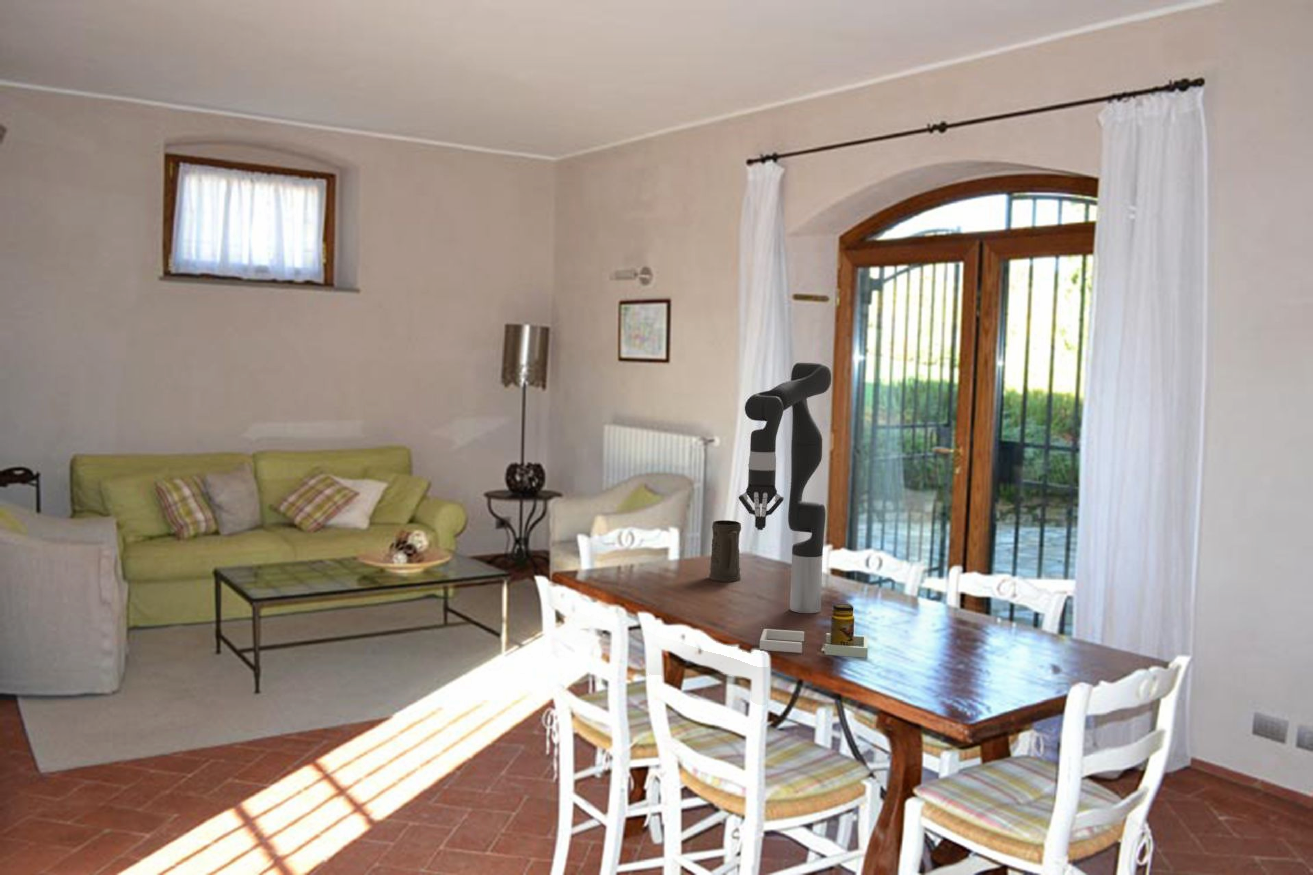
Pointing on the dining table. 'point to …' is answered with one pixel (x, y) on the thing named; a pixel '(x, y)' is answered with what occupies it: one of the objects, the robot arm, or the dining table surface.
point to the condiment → (842, 626)
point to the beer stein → (725, 551)
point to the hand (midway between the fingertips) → (760, 529)
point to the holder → (782, 645)
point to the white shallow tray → (848, 647)
